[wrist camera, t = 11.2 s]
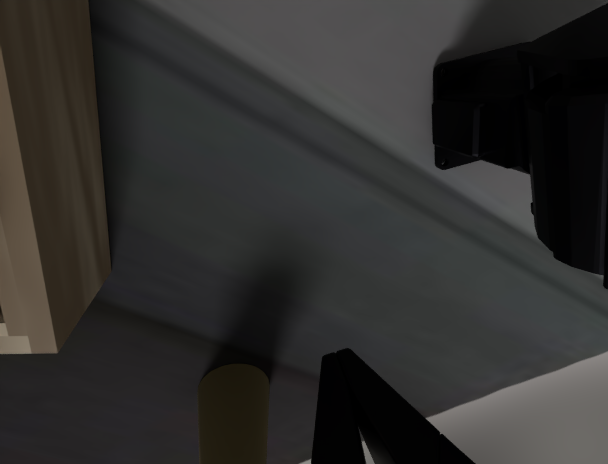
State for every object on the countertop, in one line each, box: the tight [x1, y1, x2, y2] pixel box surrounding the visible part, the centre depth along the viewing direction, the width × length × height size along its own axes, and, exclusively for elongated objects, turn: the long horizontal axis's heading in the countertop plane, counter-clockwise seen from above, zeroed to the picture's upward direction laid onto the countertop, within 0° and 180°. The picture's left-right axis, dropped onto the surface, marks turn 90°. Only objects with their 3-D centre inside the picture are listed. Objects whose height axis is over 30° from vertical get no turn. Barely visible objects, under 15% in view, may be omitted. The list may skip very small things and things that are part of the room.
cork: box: [197, 364, 269, 464], centre depth 22 cm, size 6×6×11 cm
